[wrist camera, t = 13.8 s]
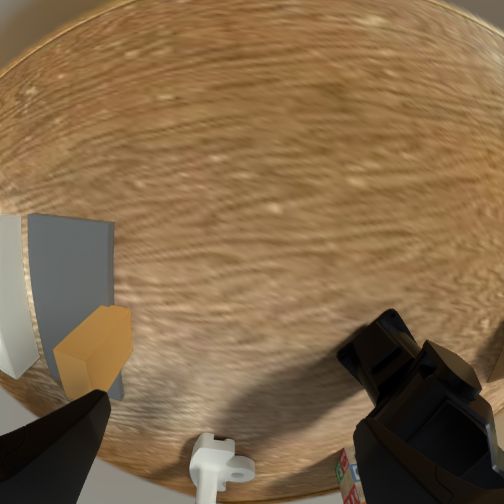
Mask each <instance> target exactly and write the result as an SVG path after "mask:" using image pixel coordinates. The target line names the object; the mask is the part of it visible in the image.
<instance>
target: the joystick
mask: <svg viewBox="0 0 504 504" xmlns="http://www.w3.org/2000/svg"><path fill="white" fill-rule="evenodd" d="M234 455H235V441H234V440H232V439H225V440H224V441H219V440H214V434H212V433H202V434H201V435H200V436H199V438H198V439H197V441H196V442H195V445H194V447H193V451H192V456H191V462H190V476H191V479H192V481H193V483H194V484H195V485H196V487H197V491H196V500H195V504H216V494H217V491H225V490H226V481H231V482H247V481H250V480H252V479H254V477H255V463H254V461H253V460H251V459H249V458H247V457H245V456H238V455H237V456H234Z"/></svg>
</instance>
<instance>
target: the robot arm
mask: <svg viewBox="0 0 504 504" xmlns="http://www.w3.org/2000/svg"><path fill="white" fill-rule="evenodd" d="M392 313H393V315H392V316H390V315H391V314H392ZM342 355H344V356H343V357H341V356H342ZM337 358H338V360H339V362H340V363H341V364H342V365H343V366H344V367H345V368H346V369H347V370H348V371H349V372H350V373H351V374H352V375H353V376H354V377H355V378H356V379H357V380H358V381H359V382H360V383H361V384H362V385H363V386H364V388H365V390H366V391H367V393H368V395H369V397H370V399H371V401H372V403H373V404H374V406H375V408H374V409H373V410H372V411H371V412H370V413H369V414H368V416H367V417H366V418H364V419H362V420H361V421H360V422H359V423H358V424H357V425H356V430H355V431H354V434H353V441H354V448H355V454H354V457H355V460H356V463H357V469H358V474H359V478H360V482H361V485H362V489H363V493H364V498H365V502H366V504H504V451H503V450H502V449H501V448H500V447H499V446H498V444H497V437H496V430H495V424H494V418H493V412H492V408H491V405H490V404H489V403H488V402H487V401H486V400H485V399H484V398H483V397H482V396H481V395H479V393H480V392H481V390H482V387H481V385H480V382H479V380H478V378H477V376H476V373H475V371H474V369H473V368H472V367H471V366H470V365H469V364H468V363H467V362H465V361H464V360H463V359H462V358H461V357H459V356H458V355H457V354H455V353H453V352H451V351H449V350H447V349H445V348H443V347H441V346H439V345H437V344H435V343H433V342H431V341H429V340H426V341H425V343H424V344H423V348H422V349H421V348H420V347H419V346H418V345H417V343H416V341H415V340H414V338H413V336H412V335H411V333H410V332H409V330H408V328H407V327H406V325H405V323H404V322H403V320H402V319H401V317H400V316H399V314H398V312H397V311H396V310H395V309H393V308H392V309H389V310H388V311H387V312H386V313H384V314H383V315H382V316H381V317H380V318H379V319H378V320H377V321H375V322H374V323H373V324H372V325H371V326H370V327H369V328H367V329H366V330H365V331H364V332H363V333H361V334H360V335H359V336H358V337H357V338H355V339H354V340H353V341H352V342H350V343H349V344H348V345H347V346H345V347H344V348H343V349H342V350H340V351H339V352H338V353H337ZM110 413H111V405H110V401H109V397H108V393H107V392H106V391H103V390H100V389H95V390H93V391H91V392H89V393H87V394H85V395H84V396H82V397H80V398H78V399H76V400H74V401H72V402H70V403H68V404H67V405H65V406H63V407H61V408H59V409H57V410H55V411H53V412H51V413H49V414H47V415H45V416H43V417H41V418H39V419H37V420H35V421H33V422H31V423H29V424H27V425H26V426H23V427H21V428H18V429H16V430H14V431H12V432H9V433H7V434H4V435H2V436H0V504H76V502H77V500H78V497H79V495H80V492H81V490H82V487H83V485H84V483H85V480H86V478H87V475H88V473H89V471H90V468H91V466H92V463H93V461H94V459H95V457H96V454H97V452H98V450H99V448H100V445H101V442H102V439H103V436H104V432H105V429H106V426H107V423H108V419H109V416H110Z"/></svg>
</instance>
